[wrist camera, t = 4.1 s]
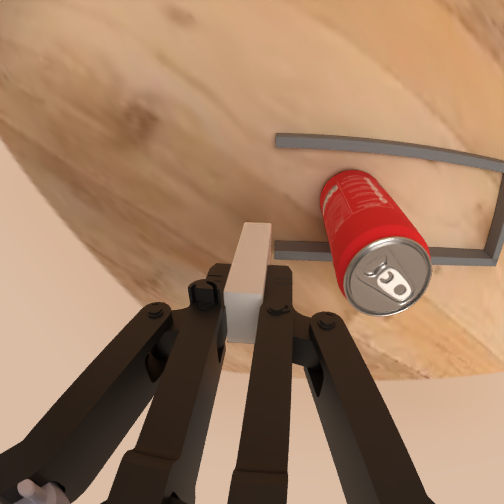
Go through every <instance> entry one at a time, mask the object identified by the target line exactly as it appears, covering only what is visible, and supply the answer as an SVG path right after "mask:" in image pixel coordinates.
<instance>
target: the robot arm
mask: <svg viewBox="0 0 504 504" xmlns="http://www.w3.org/2000/svg"><path fill="white" fill-rule="evenodd" d="M188 292H189V299H190V306H189V307H187V308H184V309H179V310H171V308H170V307H169V305H167V304H165V303H162V302H155V303H151V304H148V305H146V306H145V307H143V308H142V309H141V310H140V311H139V312H138V314H137V315H136V316H135V317H134V318H133V319H132V320H131V321H130V322H129V323H128V324H127V325H126V326H125V327H124V328H123V329H122V330H121V331H120V332H119V334H118V335H117V336H116V337H115V338H114V339H113V340H112V341H111V342H110V343H109V344H108V345H107V346H106V347H105V349H104V350H103V351H102V352H101V353H100V354H99V355H98V356H97V357H96V358H95V359H94V360H93V362H92V363H91V364H90V365H89V366H88V367H87V368H86V369H85V371H83V372H82V374H81V375H80V376H79V377H78V378H77V379H76V380H75V381H74V383H73V384H72V385H71V386H70V387H69V388H68V389H67V391H66V392H64V394H63V395H62V396H61V397H60V398H59V399H58V400H57V402H56V403H55V404H54V405H53V406H52V407H51V408H50V410H49V411H48V412H47V413H46V414H45V415H44V417H43V418H42V419H41V420H40V421H39V422H38V423H37V424H36V426H35V427H34V428H33V429H32V430H31V431H30V433H29V434H28V435H27V436H26V438H25V439H24V440H23V441H21V442H20V443H18V444H17V445H15V446H13V447H12V448H10V449H8V450H7V451H5V452H3V453H2V454H0V504H71V503H72V502H74V501H75V500H76V499H77V498H78V497H79V496H80V495H81V494H83V493H84V491H85V490H86V489H87V488H88V487H89V485H90V484H91V483H92V481H93V480H94V479H95V477H96V476H97V474H98V473H99V472H100V470H101V469H102V468H103V466H104V465H105V463H106V462H107V460H108V459H109V458H110V456H111V455H112V454H113V452H114V451H115V449H116V448H117V447H118V445H119V444H120V442H121V441H122V439H123V438H124V437H125V435H126V434H127V433H128V431H129V430H130V428H131V427H132V426H133V424H134V423H135V421H136V420H137V418H138V417H139V416H140V414H141V413H142V412H143V410H144V409H145V407H146V406H147V404H148V403H149V402H150V400H151V399H152V397H153V396H154V397H153V400H152V403H151V406H150V408H149V411H148V414H147V416H146V419H145V422H144V425H143V427H142V430H141V433H140V436H139V439H138V441H137V444H136V446H135V448H134V449H133V450H129V451H127V452H126V453H125V454H124V456H123V458H122V460H121V463H120V465H119V468H118V471H117V474H116V477H115V479H114V482H113V485H112V488H111V491H110V494H109V496H108V499H107V500H106V501H104V502H102V503H101V504H195V485H196V481H197V476H198V472H199V467H200V462H201V458H202V454H203V449H204V445H205V440H206V436H207V431H208V427H209V422H210V418H211V413H212V408H213V405H214V400H215V396H216V391H217V387H218V382H219V378H220V374H221V369H222V365H223V360H224V356H225V352H226V347H225V340H226V336H227V342H235V343H249V344H255V345H254V352H253V359H252V365H251V372H250V379H249V386H248V392H247V399H246V405H245V412H244V419H243V426H242V431H241V438H240V444H239V450H238V457H237V463H236V467H235V469H234V471H233V474H232V480H231V485H230V491H229V496H228V503H227V504H286V502H287V488H288V473H287V468H288V467H287V466H288V451H289V431H290V409H291V382H292V381H291V380H292V363H294V364H298V365H301V366H304V371H305V374H306V378H307V380H308V384H309V387H310V389H311V393H312V396H313V399H314V402H315V405H316V408H317V411H318V414H319V417H320V420H321V423H322V426H323V429H324V433H325V436H326V439H327V442H328V445H329V448H330V451H331V454H332V457H333V461H334V463H335V466H336V470H337V473H338V476H339V479H340V483H341V486H342V489H343V492H344V495H345V498H346V502H347V504H435V503H434V502H433V501H432V500H431V499H430V498H429V497H428V496H427V494H426V492H425V490H424V487H423V485H422V483H421V480H420V478H419V476H418V474H417V471H416V469H415V467H414V465H413V462H412V460H411V458H410V455H409V454H408V451H407V449H406V447H405V445H404V442H403V440H402V438H401V436H400V434H399V432H398V429H397V428H396V426H395V423H394V421H393V419H392V417H391V415H390V413H389V410H388V408H387V406H386V404H385V402H384V400H383V398H382V396H381V394H380V392H379V390H378V388H377V386H376V384H375V382H374V380H373V378H372V376H371V374H370V372H369V370H368V368H367V366H366V364H365V362H364V360H363V358H362V356H361V354H360V352H359V350H358V348H357V346H356V344H355V342H354V340H353V338H352V337H351V335H350V333H349V331H348V329H347V327H346V325H345V323H344V321H343V320H342V319H341V317H340V316H338V315H336V314H335V313H331V312H319V313H316V314H315V315H313V316H312V317H311V318H310V317H306V316H303V315H301V314H299V313H298V312H297V311H295V309H294V308H293V305H292V271H291V269H290V268H289V267H288V266H278V265H271V223H253V222H245V223H244V226H243V229H242V232H241V236H240V239H239V242H238V246H237V249H236V252H235V255H234V259H233V262H232V264H220V263H216V264H215V265H214V266H212V267H211V268H210V270H209V272H208V275H207V277H206V279H201V280H197V281H195V282H193V283H191V284H190V285H189V287H188Z"/></svg>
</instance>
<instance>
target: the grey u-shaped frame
mask: <svg viewBox="0 0 504 504" xmlns="http://www.w3.org/2000/svg"><path fill="white" fill-rule="evenodd" d="M276 147H278V148H308V149H327V150H342V151H356V152H367V153H378V154H388V155H397V156H405V157H413V158H421V159H428V160H435V161H442V162H448V163H454V164H460V165H466V166H471V167H477V168H482V169H487V170H492V171H497V172H502V173H503V177H502V182H501V187H500V192H499V197H498V201H497V205H496V210H495V214H494V218H493V221H492V225H491V229H490V232H489V236H488V239H487V243H486V246H485V249H484V250H477V249H458V248H439V247H428V249H429V252H430V257H431V264H432V265H463V266H496V264H497V261H498V258H499V255H500V252H501V249H502V246H503V243H504V161H503V160H498V159H494V158H490V157H485V156H480V155H476V154H471V153H466V152H460V151H455V150H449V149H444V148H438V147H431V146H425V145H418V144H411V143H404V142H396V141H387V140H379V139H369V138H358V137H346V136H332V135H315V134H291V133H277V134H276ZM274 259H281V260H308V261H333V259H332V254H331V250H330V245H329V243H327V242H301V241H275V253H274Z"/></svg>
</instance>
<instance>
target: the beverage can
mask: <svg viewBox="0 0 504 504" xmlns="http://www.w3.org/2000/svg"><path fill="white" fill-rule="evenodd" d="M320 207H321V211H322V215H323V219H324V224H325V228H326V232H327V236H328V241H329V245H330V250H331V254H332V259H333V263H334V268H335V273H336V277H337V282H338V286H339V288H340V290H341V292H342V294H343V295H344V296H345V298H346V299H347V300H348V301H349V303H350V304H351V305H352V306H353V307H354V308H355V309H356V310H358V311H360V312H361V313H364V314H366V315H370V316H377V317H382V316H390V315H394V314H397V313H400V312H402V311H404V310H406V309H408V308H409V307H411V306H412V305H413V304H415V303H416V302H417V301H418V300H419V299H420V298H421V297H422V295H423V294H424V293H425V291H426V289H427V287H428V285H429V283H430V280H431V275H432V264H431V257H430V252H429V249H428V246H427V244H426V242H425V241H424V239H423V238H422V236H421V235H420V234H419V232H418V231H417V230H416V228H415V227H414V226H413V224H412V223H411V222H410V221H409V219H408V218H407V217H406V215H405V214H404V213H403V212H402V210H401V209H400V208H399V207H398V205H397V204H396V203H395V202H394V200H393V199H392V198H391V197H390V196H389V194H388V193H387V192H386V191H385V190H384V188H383V187H382V186H381V185H380V184H379V183H378V181H377V180H376V179H375V178H374V177H372V176H371V175H370V174H368V173H366V172H363V171H359V170H348V171H343V172H341V173H338V174H337V175H335V176H334V177H332V178H331V179H330V180H329V181H328V182H327V183H326V185H325V186H324V188H323V191H322V193H321V198H320Z"/></svg>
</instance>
